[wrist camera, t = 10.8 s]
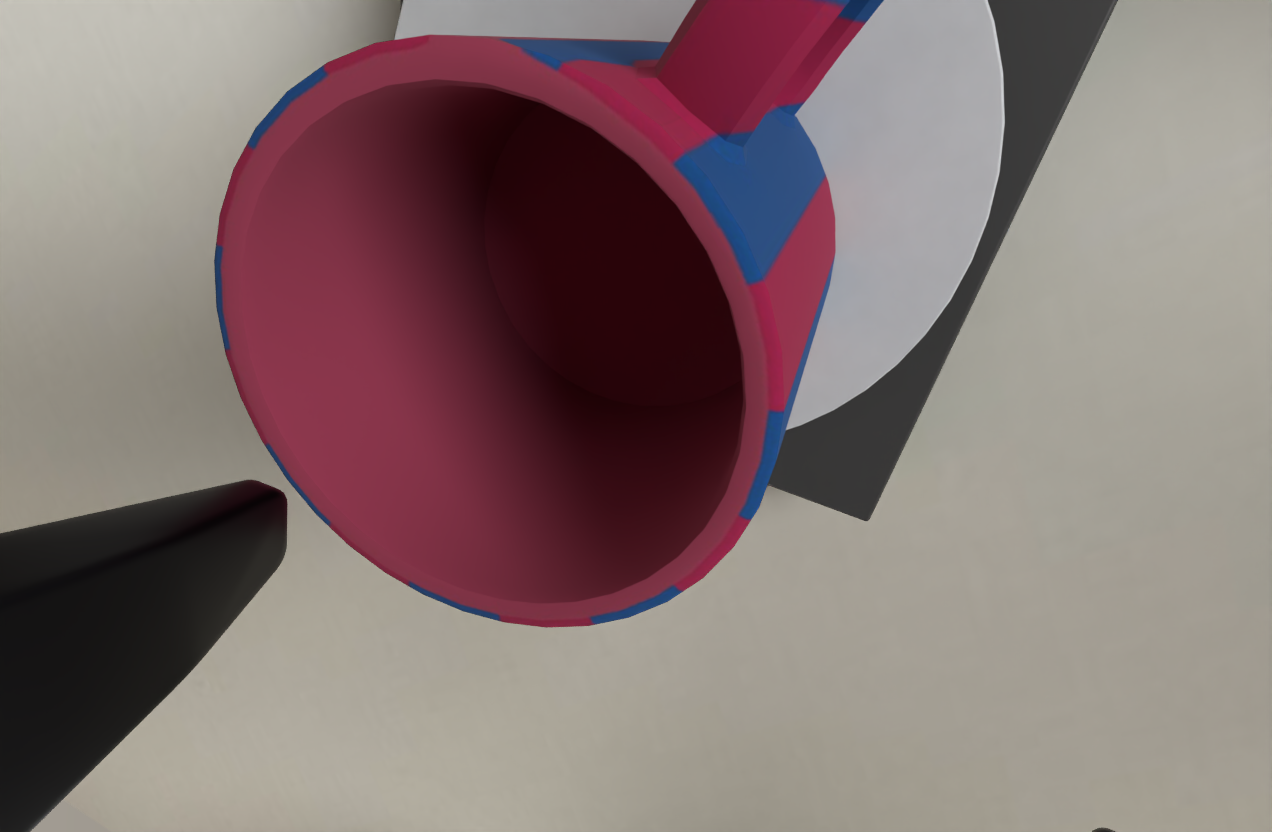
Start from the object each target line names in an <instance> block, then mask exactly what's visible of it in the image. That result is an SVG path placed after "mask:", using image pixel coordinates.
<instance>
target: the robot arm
mask: <svg viewBox="0 0 1272 832" xmlns="http://www.w3.org/2000/svg"><path fill="white" fill-rule="evenodd" d="M286 547H287V499H286V496H285V494H284V493H283V492H282V491H281V490H279V489H276V488H274V487H272V486H269V485H267V484H264V483H262V482H259V481H256V480H244V481H239V482H235V483H230V484H226V485H221V486H216V487H212V488H207V489H203V490H198V491H193V492H189V493H184V494H180V495H175V496H171V497H166V498H161V499H157V500H152V501H148V502H143V503H138V504H134V505H129V506H125V507H120V508H115V509H111V510H106V511H102V512H97V513H92V514H88V515H83V516H79V517H74V518H69V519H65V520H60V521H56V522H51V523H46V524H42V525H37V526H33V527H28V528H23V529H19V530H14V531H10V532H5V533H0V832H30V831H31V830H32V829H33V828H34V827H35V826H36V825H37V824H38V823H39V822H40V821H41V820H42V819H43V818H44V817H45V816H46V815H47V814H49V812H51V810H52V809H54V808H55V807H56V806H57V805H58V804H59V802H61V801H62V800H63V799H64V798H65V797H66V796H67V795H68V794H69V793H70V792H71V791H72V790H73V789H74V788H75V787H76V786H77V785H78V784H79V783H80V782H81V781H82V780H83V779H84V778H85V777H86V776H87V775H88V774H89V773H90V772H91V771H92V770H93V769H94V768H95V767H96V766H97V765H98V764H99V763H100V762H101V761H102V760H103V759H104V758H105V757H106V756H107V755H108V754H109V753H110V752H111V751H112V750H113V749H114V748H115V747H116V746H117V745H118V744H119V743H120V742H121V741H122V740H123V739H124V738H125V737H126V736H127V735H128V734H129V733H130V732H131V731H132V730H133V729H134V728H135V727H136V726H137V725H138V724H139V723H140V722H141V721H142V720H143V719H144V718H145V717H146V716H147V715H148V714H149V713H150V712H151V711H152V710H153V709H154V708H155V707H156V706H158V705H159V704H160V703H161V702H162V701H163V700H164V699H165V698H166V697H167V696H168V695H169V694H170V693H171V692H172V691H173V690H174V689H175V688H176V687H177V685H178V684H179V683H180V682H181V681H182V680H183V679H184V678H185V677H186V676H187V675H188V674H189V673H190V672H191V671H192V670H193V669H194V667H195V666H196V665H197V664H198V663H199V662H200V661H201V660H202V658H203V657H204V656H205V655H206V654H207V653H208V651H209V650H210V649H211V648H212V647H213V645H214V644H215V643H216V642H217V641H218V639H219V638H220V637H221V636H222V635H223V633H224V632H225V631H226V630H227V629H228V627H229V626H230V625H231V624H232V622H233V621H234V620H235V619H236V618H237V616H238V615H239V614H240V613H241V612H242V610H243V609H244V608H245V607H246V606H247V604H248V603H249V602H250V601H251V600H252V598H253V597H254V596H255V595H256V594H257V592H258V591H259V590H260V589H261V588H262V586H263V585H264V584H265V583H266V582H267V580H268V579H269V578H270V577H271V576H272V574H273V573H274V572H275V571H276V570H277V568H278V567H279V565H280V564H281V562H282V560H283V558H284V555H285V552H286ZM1092 832H1115V831H1113V830H1110V829H1108V828H1097V829H1095V830H1093V831H1092Z"/></svg>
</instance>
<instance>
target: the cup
mask: <svg viewBox="0 0 1272 832" xmlns="http://www.w3.org/2000/svg"><path fill="white" fill-rule="evenodd" d="M883 1H884V0H696V1H695V3H694V4H693V6H692V7H691V9H690V10H689V12H688V13H687V15H686V16H685V18H684V20H683V21H682V23H681V25H680V26H679V28H678V30H677V31H676V33H675V35H674V36H673V38H672V40H671V41H670V42H660V41H645V40H611V39H575V38H538V37H502V36H466V35H424V36H417V37H411V38H404V39H398V40H391V41H385V42H378V43H374V44H372V45H369V46H367V47H364V48H362V49H359V50H357V51H355V52H352V53H350V54H347V55H345V56H342V57H340V58H337V59H335V60H333V61H330V62H328V63H326V64H325V65H323V66H322V67H321V68H319V69H318V70H317V71H315V72H314V73H312V74H311V75H310V76H308V77H307V78H305V79H304V80H303V81H301V82H300V83H298V84H297V85H296V86H294V87H293V88H291V89H290V90H289V91H287V92H286V94H285V95H284V96H283V97H282V98H281V99H280V101H279V102H278V103H277V104H276V105H275V106H274V107H273V109H272V110H271V111H270V112H269V113H268V114H267V116H266V117H265V118H264V119H263V120H262V121H261V122H260V124H259V125H258V126H257V127H256V129H255V130H254V132H253V134H252V136H251V138H250V140H249V142H248V143H247V145H246V147H245V149H244V151H243V153H242V154H241V156H240V158H239V160H238V162H237V164H236V165H235V167H234V169H233V173H232V176H231V179H230V182H229V186H228V189H227V192H226V195H225V199H224V202H223V205H222V209H221V212H220V217H219V226H218V234H217V243H216V251H215V260H214V263H215V284H216V305H217V312H218V317H219V322H220V327H221V332H222V338H223V343H224V348H225V353H226V356H227V359H228V362H229V365H230V368H231V371H232V374H233V377H234V379H235V382H236V385H237V388H238V391H239V394H240V397H241V399H242V401H243V403H244V405H245V408H246V410H247V412H248V414H249V416H250V418H251V420H252V422H253V424H254V426H255V428H256V430H257V432H258V434H259V436H260V438H261V440H262V442H263V443H264V445H265V446H266V448H267V449H268V451H269V452H270V454H271V455H272V457H273V459H274V460H275V462H276V463H277V465H278V466H279V468H280V469H281V471H282V472H283V474H284V475H285V477H286V478H287V480H288V481H289V482H290V483H291V485H292V486H293V487H294V488H295V489H296V491H297V492H298V493H299V494H300V495H301V497H302V498H303V499H304V500H305V501H306V503H307V504H308V505H309V506H310V507H311V509H312V510H313V511H314V512H315V513H316V515H318V516H319V517H320V518H321V519H322V520H323V521H324V522H325V523H326V524H327V525H328V526H329V527H330V528H331V529H332V530H333V531H334V532H335V533H336V534H338V535H339V536H340V537H341V538H342V539H343V540H344V541H345V542H346V543H347V544H348V545H349V546H350V547H352V548H353V549H354V550H356V551H357V552H358V553H360V554H361V555H362V556H364V557H365V558H366V559H368V560H369V561H370V562H372V563H373V564H374V565H376V566H377V567H378V568H380V569H381V570H382V571H384V572H385V573H387V574H389V575H390V576H392V577H394V578H396V579H397V580H399V581H401V582H403V583H404V584H406V585H408V586H410V587H411V588H413V589H415V590H416V591H418V592H420V593H422V594H423V595H426V596H428V597H431V598H433V599H435V600H438V601H440V602H443V603H445V604H447V605H450V606H452V607H454V608H457V609H459V610H462V611H464V612H468V613H472V614H475V615H479V616H483V617H487V618H490V619H494V620H498V621H501V622H506V623H514V624H522V625H531V626H539V627H572V626H590V625H595V624H600V623H605V622H609V621H614V620H619V619H624V618H629V617H631V616H634V615H636V614H638V613H641V612H643V611H646V610H648V609H651V608H653V607H656V606H658V605H660V604H663V603H665V602H668V601H669V600H671V599H672V598H674V597H675V596H677V595H678V594H680V593H681V592H683V591H684V590H686V589H687V588H689V587H690V586H692V585H693V584H695V583H696V582H698V581H699V580H701V579H702V578H704V577H705V576H706V574H707V573H708V572H709V571H710V570H711V569H712V568H713V567H714V566H715V565H716V564H717V563H718V562H719V561H720V560H721V559H722V558H723V557H724V556H725V555H726V554H727V553H728V552H729V551H730V550H731V549H732V548H733V547H734V546H735V544H736V543H737V541H738V539H739V538H740V536H741V535H742V533H743V532H744V530H745V529H746V527H747V525H748V524H749V522H750V521H751V519H752V518H753V516H754V514H755V513H756V511H757V510H758V508H759V506H760V503H761V500H762V498H763V495H764V492H765V490H766V487H767V484H768V482H769V479H770V476H771V474H772V471H773V468H774V466H775V463H776V460H777V457H778V454H779V450H780V447H781V444H782V441H783V437H784V434H785V431H786V427H787V424H788V421H789V418H790V414H791V411H792V408H793V404H794V401H795V398H796V395H797V391H798V388H799V385H800V382H801V378H802V375H803V372H804V368H805V365H806V362H807V359H808V355H809V352H810V349H811V345H812V342H813V339H814V336H815V332H816V329H817V326H818V322H819V319H820V316H821V313H822V309H823V306H824V303H825V300H826V296H827V293H828V290H829V286H830V281H831V276H832V270H833V264H834V258H835V253H836V241H835V213H834V208H833V203H832V197H831V192H830V187H829V182H828V179H827V177H826V174H825V171H824V169H823V166H822V164H821V161H820V158H819V156H818V153H817V151H816V148H815V147H814V145H813V143H812V142H811V140H810V138H809V137H808V135H807V133H806V132H805V130H804V128H803V127H802V125H801V124H800V122H799V120H798V119H797V117H796V116H795V114H796V113H797V112H798V110H799V109H800V108H801V107H802V105H803V104H804V103H805V102H806V100H807V99H808V98H809V97H810V95H811V94H812V93H813V92H814V90H815V89H816V88H817V86H818V85H819V83H820V82H821V81H822V79H823V78H824V76H825V75H826V74H827V72H828V71H829V70H830V68H831V67H832V66H833V64H834V63H835V62H836V60H837V59H838V58H839V56H840V55H841V54H842V52H843V51H844V50H845V48H846V47H847V46H848V45H849V43H850V42H851V41H852V40H853V38H854V37H855V36H856V35H857V33H858V32H859V31H860V30H861V28H862V27H863V26H864V25H865V23H866V22H867V21H868V20H869V18H870V17H871V16H872V15H873V13H874V12H875V11H876V10H877V8H878V7H879V6H880V5H881V3H882V2H883Z"/></svg>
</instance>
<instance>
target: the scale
mask: <svg viewBox="0 0 1272 832" xmlns="http://www.w3.org/2000/svg"><path fill="white" fill-rule="evenodd" d="M695 1H696V0H401V8H400V16H399V20H398V24H397V28H396V33H395V37H394V40H398V39H404V38H411V37H417V36H424V35H466V36H502V37H538V38H575V39H611V40H645V41H660V42H670V41H671V40H672V38H673V36H674V35H675V33H676V31H677V30H678V28H679V26H680V25H681V23H682V21H683V20H684V18H685V16H686V15H687V13H688V12H689V10H690V9H691V7H692V6H693V4H694V3H695ZM1117 1H1118V0H884V1H883V2H882V3H881V5H880V6H879V7H878V8H877V10H876V11H875V12H874V13H873V15H872V16H871V17H870V18H869V20H868V21H867V22H866V23H865V25H864V26H863V27H862V28H861V30H860V31H859V32H858V33H857V35H856V36H855V37H854V38H853V40H852V41H851V42H850V43H849V45H848V46H847V47H846V48H845V50H844V51H843V52H842V54H841V55H840V56H839V58H838V59H837V60H836V62H835V63H834V64H833V66H832V67H831V68H830V70H829V71H828V72H827V74H826V75H825V76H824V78H823V79H822V81H821V82H820V83H819V85H818V86H817V88H816V89H815V90H814V92H813V93H812V94H811V95H810V97H809V98H808V99H807V100H806V102H805V103H804V104H803V105H802V107H801V108H800V109H799V110H798V112H797V113H796V114H795V116H796V117H797V119H798V120H799V122H800V124H801V125H802V127H803V128H804V130H805V132H806V133H807V135H808V137H809V138H810V140H811V142H812V143H813V145H814V147H815V148H816V151H817V153H818V156H819V158H820V161H821V164H822V166H823V169H824V171H825V174H826V177H827V179H828V182H829V187H830V192H831V197H832V203H833V208H834V213H835V241H836V253H835V258H834V264H833V270H832V276H831V281H830V286H829V290H828V293H827V296H826V300H825V303H824V306H823V309H822V313H821V316H820V319H819V322H818V326H817V329H816V332H815V336H814V339H813V342H812V345H811V349H810V352H809V355H808V359H807V362H806V365H805V368H804V372H803V375H802V378H801V382H800V385H799V388H798V391H797V395H796V398H795V401H794V404H793V408H792V411H791V414H790V418H789V421H788V424H787V427H786V431H785V434H784V437H783V441H782V444H781V447H780V450H779V454H778V457H777V460H776V463H775V466H774V468H773V471H772V474H771V476H770V479H769V482H768V484H767V485H769V486H772V487H775V488H777V489H780V490H783V491H786V492H788V493H791V494H794V495H796V496H799V497H802V498H805V499H807V500H810V501H813V502H815V503H818V504H821V505H823V506H826V507H829V508H832V509H834V510H837V511H840V512H842V513H845V514H848V515H850V516H853V517H856V518H859V519H861V520H864V521H868V520H869V519H870V517H871V515H872V513H873V511H874V509H875V507H876V505H877V503H878V501H879V499H880V497H881V494H882V492H883V490H884V488H885V486H886V484H887V482H888V480H889V478H890V476H891V474H892V471H893V469H894V467H895V465H896V463H897V461H898V459H899V457H900V455H901V453H902V451H903V448H904V446H905V444H906V442H907V440H908V438H909V436H910V434H911V432H912V430H913V428H914V425H915V423H916V421H917V419H918V417H919V415H920V413H921V411H922V409H923V407H924V405H925V402H926V400H927V398H928V396H929V394H930V392H931V390H932V388H933V386H934V384H935V382H936V379H937V377H938V375H939V373H940V371H941V369H942V367H943V365H944V363H945V361H946V358H947V356H948V354H949V352H950V350H951V348H952V346H953V344H954V342H955V340H956V338H957V335H958V333H959V331H960V329H961V327H962V325H963V323H964V321H965V319H966V317H967V315H968V312H969V310H970V308H971V306H972V304H973V302H974V300H975V298H976V296H977V294H978V292H979V289H980V287H981V285H982V283H983V281H984V279H985V277H986V275H987V273H988V271H989V269H990V266H991V264H992V262H993V260H994V258H995V256H996V254H997V252H998V250H999V248H1000V246H1001V243H1002V241H1003V239H1004V237H1005V235H1006V233H1007V231H1008V229H1009V227H1010V225H1011V223H1012V220H1013V218H1014V216H1015V214H1016V212H1017V210H1018V208H1019V206H1020V204H1021V202H1022V200H1023V197H1024V195H1025V193H1026V191H1027V189H1028V187H1029V185H1030V183H1031V181H1032V179H1033V177H1034V174H1035V172H1036V170H1037V168H1038V166H1039V164H1040V162H1041V160H1042V158H1043V156H1044V154H1045V151H1046V149H1047V147H1048V145H1049V143H1050V141H1051V139H1052V137H1053V135H1054V133H1055V131H1056V128H1057V126H1058V124H1059V122H1060V120H1061V118H1062V116H1063V114H1064V112H1065V110H1066V108H1067V105H1068V103H1069V101H1070V99H1071V97H1072V95H1073V93H1074V91H1075V89H1076V87H1077V85H1078V82H1079V80H1080V78H1081V76H1082V74H1083V72H1084V70H1085V68H1086V66H1087V64H1088V62H1089V59H1090V57H1091V55H1092V53H1093V51H1094V49H1095V47H1096V45H1097V43H1098V41H1099V39H1100V36H1101V34H1102V32H1103V30H1104V28H1105V26H1106V24H1107V22H1108V20H1109V18H1110V16H1111V13H1112V11H1113V9H1114V7H1115V5H1116V3H1117Z"/></svg>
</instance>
